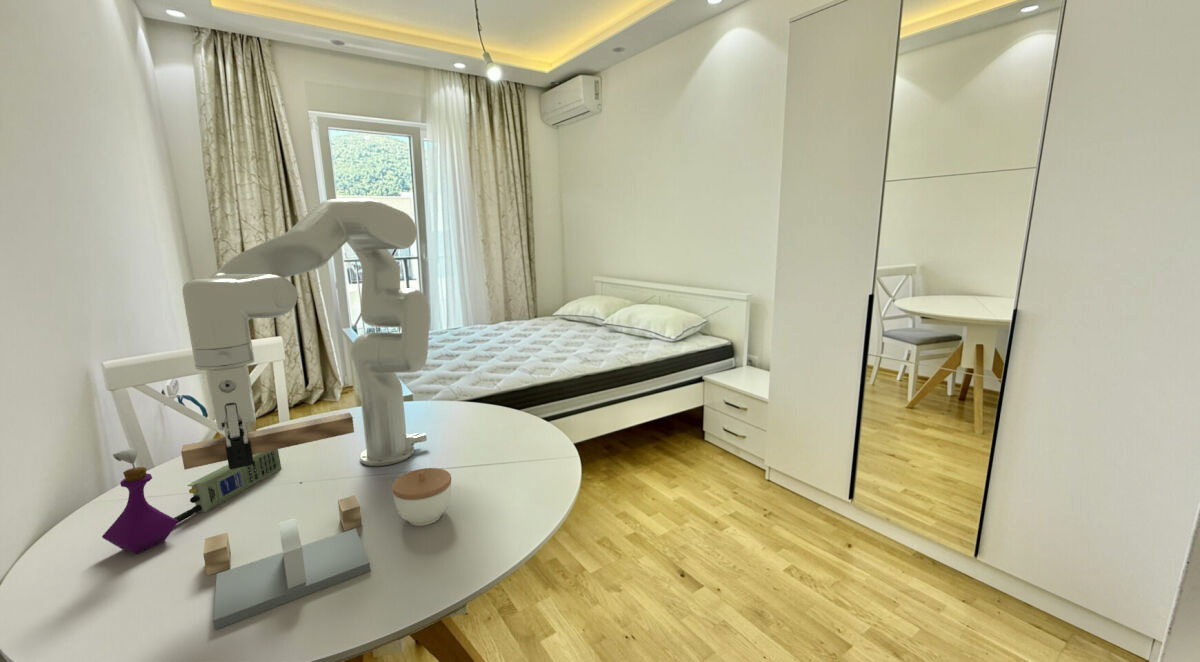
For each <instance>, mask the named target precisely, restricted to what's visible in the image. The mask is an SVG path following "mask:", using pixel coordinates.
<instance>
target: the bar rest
mask: <svg viewBox="0 0 1200 662" xmlns="http://www.w3.org/2000/svg"><path fill="white" fill-rule="evenodd" d="M337 504H338V512H339V513H338V514H339V520H340V523H341V525H342V527H343V531H344V532H346V531H349V530H352V529H355V528H358V527H361V526H363V524H362V523H363V521H362V514H361V513H362V512H361V505H360V503H359V501H358V499H357V497H356V495H351V496H347V497H344V498H340V499H338V500H337ZM202 553H203V560H204V566H205V571H206V575H207V576H212V575H214V574H218V573H221V572H224V571H227V570H230V569H231V567H232V566H231V562H232V561H231V559H232V551H231V546H230V539H229V534H228V532H223V533H221V534H216V535H213V536H210V537H207V538H204V544H203V552H202Z"/></svg>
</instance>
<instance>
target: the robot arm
mask: <svg viewBox="0 0 1200 662" xmlns="http://www.w3.org/2000/svg"><path fill="white" fill-rule="evenodd" d="M417 231H418V230H417V227H416V224H415V222H414V220H413V219H412V217H411V215H409V214H408V213H406V212H404V211H403V210H400V209H398V208H395V207H393V206H390V205H388V204H386V203H383V202H380V201H377V200H376V199H375V200H374V199H370V198H361V197H359V198H356V197H355V198H333V199H332V198H331V199H327V200H324V201H321V202H320V203H319V204H318V205H316V206H315V207H314V208H313V209H312V210H311V211H310V212H308V213H307V214H306V215H305V216H304V217H303V218H301V219H300V220H299V221H298V222H297V223H296V224H294V226H292V227H291V228H290V229H288V231H286V232H285V233H283V234H281V235H279V236H276V237H273V238H270V239H269V240H267V241H264V242H263V243H260V244H258V245H255V246H253V247H251V248H249V249H247V250H244V251H242V252H240V253H238V254H236V256H234V257H232V258H230V259H229V260H228V261H227V262H225V263H224V264H223V265H222V266H221V267H219V268H218V269H217V270H215V271H214V272H213V274H211V275H210V277H208V278H199V279H193V280H188V281H186V282H185V283H184V284H183V286H182V298H183V303H184V304H183V305H184V310H185V314H186V315H185V316H186V320H187V321H186V322H187V327H188V332H189V339H190V344H191V347H192V348H191V350H192V354H193V355H192V356H193V362H194V366H195V370H196V371H197V370H198V371H205V372H206V374H205V375H206V380H207V385H208V390H209V395H210V400H211V401H210V402H211V405H212V410H213V414H214V418H215V423H216V425H217V429H218V430H219V431H222V432H223V431H224V435H225V436H224V437H226V443H227V446H226V453H227V459H228V460H227V462H228V463H227V465H229V469H236V468H240V467H244V466H249V465H252V464H253V457H252V456H253V455H252V450H251V444H250V441H248V437H247V433H248V430H247V424H251V425H254V424H255V423H256V422H257V419H256V410H255V400H254V393H253V387H252V382H251V375H250V372H249V371H250V370H249V367H248V365H250V364H253V363H254V362H255V356H254V350H253V349H254V348H253V345H252V344H253V343H252V342H253V341H252V335H251V331H250V324H249V320H252V319H272V318H280V317H282V316H285V315H287V314H289V313H290V312H291V311H292V310H293V308H294V307H296V304H297V301H298V291H297V288H296V287H295V285H294V284H293V283H292V282H291V281H290V280H289V279H287V278H289V277H292V276H297V275H302V274H305V273H309V272H311V271H314V270H317V269H320V268H322V267H323V266H325V265H326V264H327V263H328V262H329V260H330V259H332V257H333V256H334V255H335V254H336V253H337V252H338V251H339V250H340V249H341V248H342V247H343V246H345V244H348V245H349V247H350V248H351V249H352V251H353V252H354V254H355V255H356V257H357V259H358V261H359V263H360V265H361V271H362V273H361V274H362V278H361V297H360V298H361V299H360V315H361V317H360V318H361V320H362V321H363V322H364V324H366V325H367V326H371V327H376V328H377V327H378V328H399V329H401V332H368V333H364V334H361V335H359V336H358V337H357V338H356V339H355V340H354V341H353V342H352V345H351V348H350V356H351V360H352V364H353V368H354V370H355V372H356V376H357V381H358V386H359V395H360V404H361V413H362V414H361V415H362V423H363V430H364V431H363V433H364V441H365V449H364V450H363V451H362V452H361V453H360V455H359V460H360V462H361V464H364V465H366V466H370V467H380V466H381V467H385V466H390V465H394V464H398V463H400V462H402V461H405V460H406V459H407V460H408V457H409V458H410V457H412V456H413V455H414V454H415V444H417V443H419V444H420V443H424V442H427V439H428V438H427V434H426V433H422V434H419V433H418V432H415V433H412V434H409V433H407V427H406V417H405V416H406V414H405V404H404V395H403V394H404V393H403V390H404V389H403V385H402V382H401V380H400V379H399V376H398V375H397V373H401V374H403V373H404V374H405V373H406V374H411V373H413V374H414V373H418V372H420V371H421V370H422V369H423V368H424V367H425V365H426V362H427V359H428V352H429V351H428V350H429V336H430V334H429V333H430V332H429V331H430V305H429V300H428V299H427V297H426V295H425V293H423V292H422V291H421V290H418V289H416V288H401V268H400V266H399V263H398V262H397V260H396V258H395V256H393V254H392V253H391V252H390V251H389V250H404V249H405V250H406V249H408V248H410V247H411V246H413V245H414V243H415V242H416V240H417V234H418V232H417Z"/></svg>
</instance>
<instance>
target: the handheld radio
mask: <svg viewBox="0 0 1200 662" xmlns="http://www.w3.org/2000/svg"><path fill="white" fill-rule="evenodd" d="M252 457H253V464H252V465H249V466H244V467H240V468H236V469H229V465H228V464H225V466H224V465H223V467H220V468H218V469H216V470H214V471H212V472H210V473H209V474H206V475H204V476H202V477H200V478H198V479H196V480H194V481H192V482H191V483H189V484H188V485H187V487H191V488H190V489H189V490H188V493H189V494H193V495H192V497H190V499H189V502H190V503H192V504H194V505H195V506H192V508H189V509H188V510H186V511H184V512H183V513H180V514H179V515H177V516H174V517H173V518H174V519H176V520H178V523H177V524H179V523H180V522H182V521H185V520H186V519H188V518H190V517H192V516H193V515H194V514H196V513H207V512H208V511H210V510H212V509H214V508H216V507H217V506H219V505H221V504H223V503H224V502H226V501H227V500H230V499H231V498H233V497H235V496H237V495H238V494H240V493H242V492H244V491H245V490H247V489H248V488H251V487H252V486H255V485H256V484H258V483H259V482H261V481H263V480H265V479H266V478H268V477H269V476H272V475H273V474H275V473H277V472H278V471H280V470H282V465H281V457H280V452H279V449H276V450H272V451H267V452H263V453H258V454H254V455H253V456H252ZM262 479H263V480H262ZM257 482H258V483H257Z"/></svg>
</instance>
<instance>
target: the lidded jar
mask: <svg viewBox="0 0 1200 662" xmlns="http://www.w3.org/2000/svg"><path fill="white" fill-rule="evenodd" d="M391 491H392V494H393V500H394V505H395V507H396V510H397V512H398V514H399V516H400V517H401V518H402V519H404V520H405V521H407V522H409V524H411V526H415V527H416V526H417V527H418V526H419V527H421V526H427V525H431V524H433V523H435V522H437V521H438V520H440V518H441V517H442V515H443V514H444V513H445V512H446V510H447V508H448V507H449V504H450V500H451V498H452V497H451V496H452V475H451V473H450V472H449V471H448V470H446V469H443V468H438V467H428V468H427V467H425V468H420V469H419V468H418V469H415V470H412V471H411V470H410V471H409V472H407V473H405V474H402V475H401V476H399V477H397V478H396V479H395V480H394V482H393V483H392V486H391ZM440 516H441V517H440ZM437 519H438V520H437ZM436 520H437V521H436ZM430 523H431V524H430Z"/></svg>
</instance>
